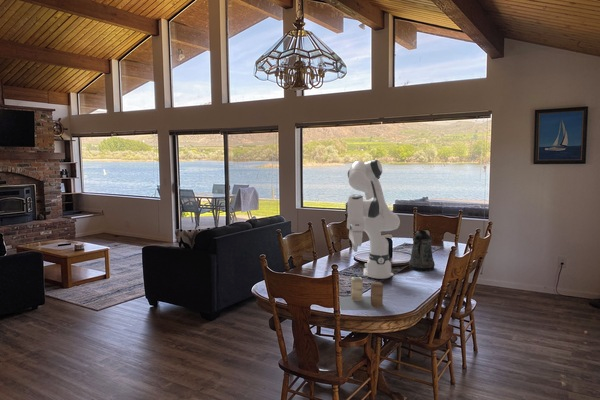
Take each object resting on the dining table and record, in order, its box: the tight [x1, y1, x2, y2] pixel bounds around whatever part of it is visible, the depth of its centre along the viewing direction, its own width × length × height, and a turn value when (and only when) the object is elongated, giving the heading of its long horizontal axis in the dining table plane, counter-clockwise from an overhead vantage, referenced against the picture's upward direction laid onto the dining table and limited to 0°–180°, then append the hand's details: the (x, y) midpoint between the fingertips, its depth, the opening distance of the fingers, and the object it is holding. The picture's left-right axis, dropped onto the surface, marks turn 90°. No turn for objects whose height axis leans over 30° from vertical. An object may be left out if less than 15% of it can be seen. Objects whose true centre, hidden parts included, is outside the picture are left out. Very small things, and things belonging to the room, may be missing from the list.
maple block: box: [350, 276, 364, 301], centre depth 227 cm, size 5×5×11 cm
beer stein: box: [408, 230, 435, 272], centre depth 286 cm, size 16×19×25 cm
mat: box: [339, 295, 387, 311], centre depth 222 cm, size 19×22×1 cm
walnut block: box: [370, 281, 384, 307], centre depth 218 cm, size 5×5×11 cm
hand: (354, 250), depth 234 cm, fingers closed
